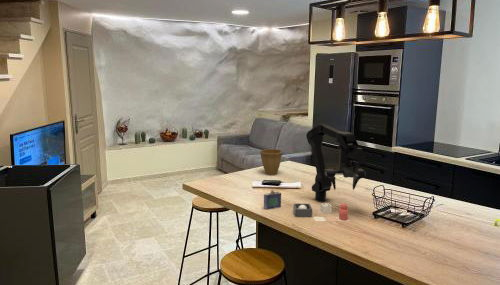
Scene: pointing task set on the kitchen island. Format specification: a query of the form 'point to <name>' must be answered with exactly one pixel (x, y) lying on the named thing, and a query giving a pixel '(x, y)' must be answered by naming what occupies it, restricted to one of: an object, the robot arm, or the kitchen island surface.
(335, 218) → the board
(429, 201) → the kitchen island surface
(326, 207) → the beige cube
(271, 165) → the plant pot
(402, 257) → the kitchen island surface
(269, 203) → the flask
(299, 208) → the dome
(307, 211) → the button housing
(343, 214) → the pawn
